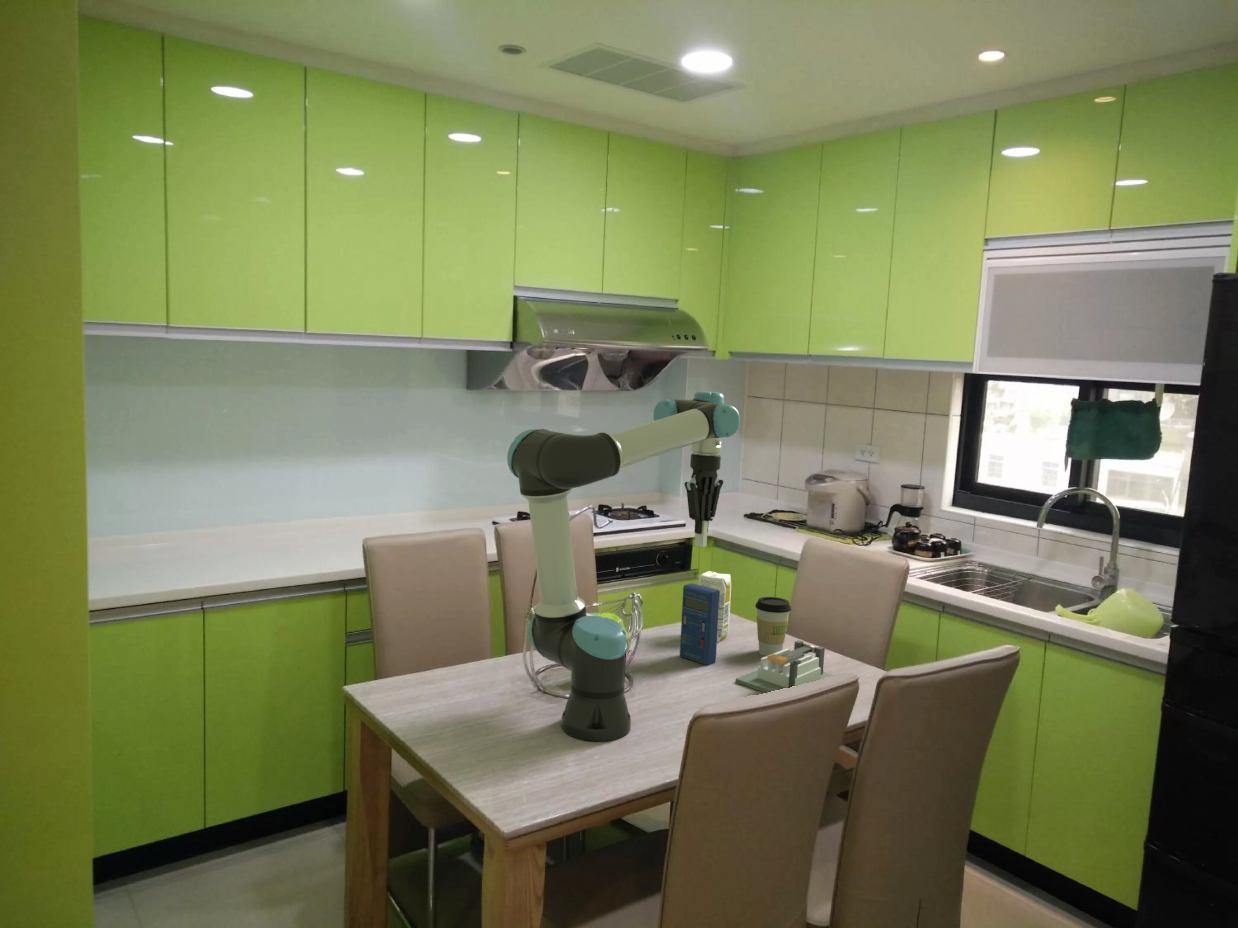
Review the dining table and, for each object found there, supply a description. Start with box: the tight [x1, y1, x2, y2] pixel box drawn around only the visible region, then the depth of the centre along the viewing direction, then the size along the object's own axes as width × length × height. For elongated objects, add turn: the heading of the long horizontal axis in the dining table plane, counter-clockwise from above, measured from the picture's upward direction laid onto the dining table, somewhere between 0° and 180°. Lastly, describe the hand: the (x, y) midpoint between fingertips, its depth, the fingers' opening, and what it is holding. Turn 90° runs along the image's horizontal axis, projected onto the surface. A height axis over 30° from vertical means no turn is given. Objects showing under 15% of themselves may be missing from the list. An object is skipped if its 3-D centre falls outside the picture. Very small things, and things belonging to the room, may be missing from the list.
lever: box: [767, 643, 818, 664], centre depth 228 cm, size 17×4×2 cm, turn 137°
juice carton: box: [697, 570, 732, 643], centre depth 261 cm, size 8×9×19 cm
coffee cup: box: [755, 596, 792, 657], centre depth 250 cm, size 10×10×15 cm
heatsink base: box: [735, 639, 835, 694], centre depth 228 cm, size 22×18×9 cm
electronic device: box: [679, 582, 720, 666], centre depth 242 cm, size 10×5×20 cm, turn 48°
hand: (700, 545), depth 228 cm, fingers closed
